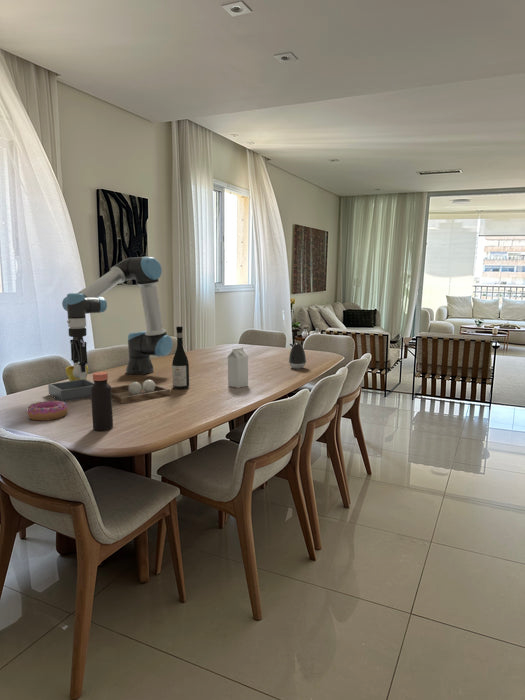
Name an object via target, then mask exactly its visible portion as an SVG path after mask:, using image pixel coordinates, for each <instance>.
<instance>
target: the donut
mask: <svg viewBox="0 0 525 700" xmlns="http://www.w3.org/2000/svg"><path fill="white" fill-rule="evenodd" d="M68 411H69V408H68V405H67V402H66V401H64V402H63V401H59V400H57V399H56V400H44V401H39V402H35V403H32V404H30V405H29V406H28V407H27V416H28V418H29V420H31V421H40V422H43V421H51V420H52V421H53V420H57V419H61V418H63V417H65V416H66V415H67V413H68Z"/></svg>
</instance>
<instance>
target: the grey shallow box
mask: <svg viewBox="0 0 525 700" xmlns="http://www.w3.org/2000/svg"><path fill="white" fill-rule="evenodd" d="M47 385H48V386H47V387H48V395H49V394H50V395H51V397H52V396H53V397H52V398H54V397H55V398H54V399H56V400H57V399H58V400H57V401H63V402H69V401H75V400H81V399H82V398H83V399H88V397H89V398H91V387H92V386H93V385H94V381H91V380H89V379H87V378H86V379H82V380H75V381H69V380H68V381H62V382H60V381H59V382H53V383H48V384H47ZM50 395H49V396H50Z"/></svg>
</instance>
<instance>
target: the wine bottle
mask: <svg viewBox="0 0 525 700" xmlns="http://www.w3.org/2000/svg"><path fill="white" fill-rule="evenodd" d="M175 329H176V341H177V342H176V345H177V346H176V349H175V353H174V356H173V359H172V363H171V370H172V372H171V373H172V374H171V375H172V387H173V388H174V389H177V390H183V389H184V390H186V389H188V388H189V387H190V364H189V359H188V356H187V354H186V352H185V348H184V342H183V340H184V339H183V331H184V329H183V326H176V327H175Z"/></svg>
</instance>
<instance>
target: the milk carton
mask: <svg viewBox="0 0 525 700" xmlns="http://www.w3.org/2000/svg"><path fill="white" fill-rule="evenodd" d="M231 350H232V351H231V352H230V353H229V354H228V355H227V386H228V387H232V388H237V389H238V388H243V387H244V388H245V387H248V386H249V356H248V354H247V353H246V352H245V350H244V347H237V348H232V349H231Z"/></svg>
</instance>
